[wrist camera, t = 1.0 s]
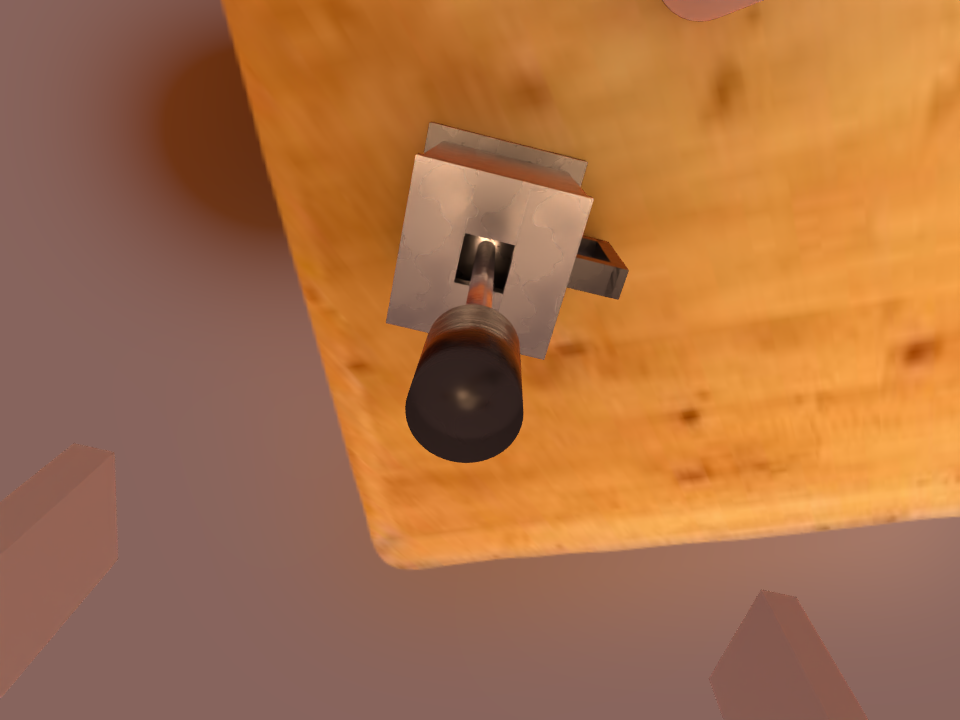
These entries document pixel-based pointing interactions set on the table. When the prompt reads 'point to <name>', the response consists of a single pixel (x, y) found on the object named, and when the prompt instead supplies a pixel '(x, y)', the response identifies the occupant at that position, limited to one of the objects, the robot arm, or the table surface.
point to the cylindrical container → (706, 8)
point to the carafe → (498, 233)
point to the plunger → (470, 367)
